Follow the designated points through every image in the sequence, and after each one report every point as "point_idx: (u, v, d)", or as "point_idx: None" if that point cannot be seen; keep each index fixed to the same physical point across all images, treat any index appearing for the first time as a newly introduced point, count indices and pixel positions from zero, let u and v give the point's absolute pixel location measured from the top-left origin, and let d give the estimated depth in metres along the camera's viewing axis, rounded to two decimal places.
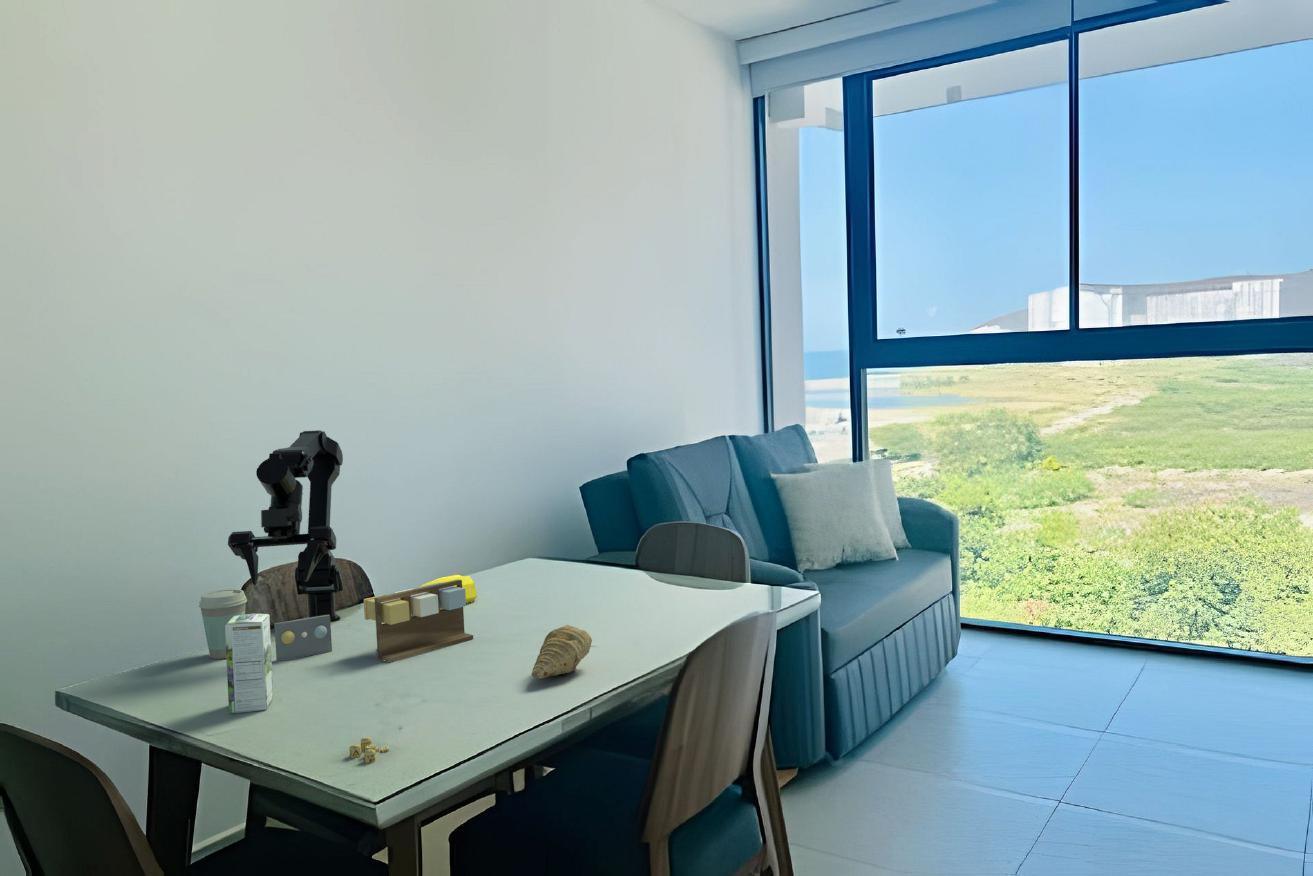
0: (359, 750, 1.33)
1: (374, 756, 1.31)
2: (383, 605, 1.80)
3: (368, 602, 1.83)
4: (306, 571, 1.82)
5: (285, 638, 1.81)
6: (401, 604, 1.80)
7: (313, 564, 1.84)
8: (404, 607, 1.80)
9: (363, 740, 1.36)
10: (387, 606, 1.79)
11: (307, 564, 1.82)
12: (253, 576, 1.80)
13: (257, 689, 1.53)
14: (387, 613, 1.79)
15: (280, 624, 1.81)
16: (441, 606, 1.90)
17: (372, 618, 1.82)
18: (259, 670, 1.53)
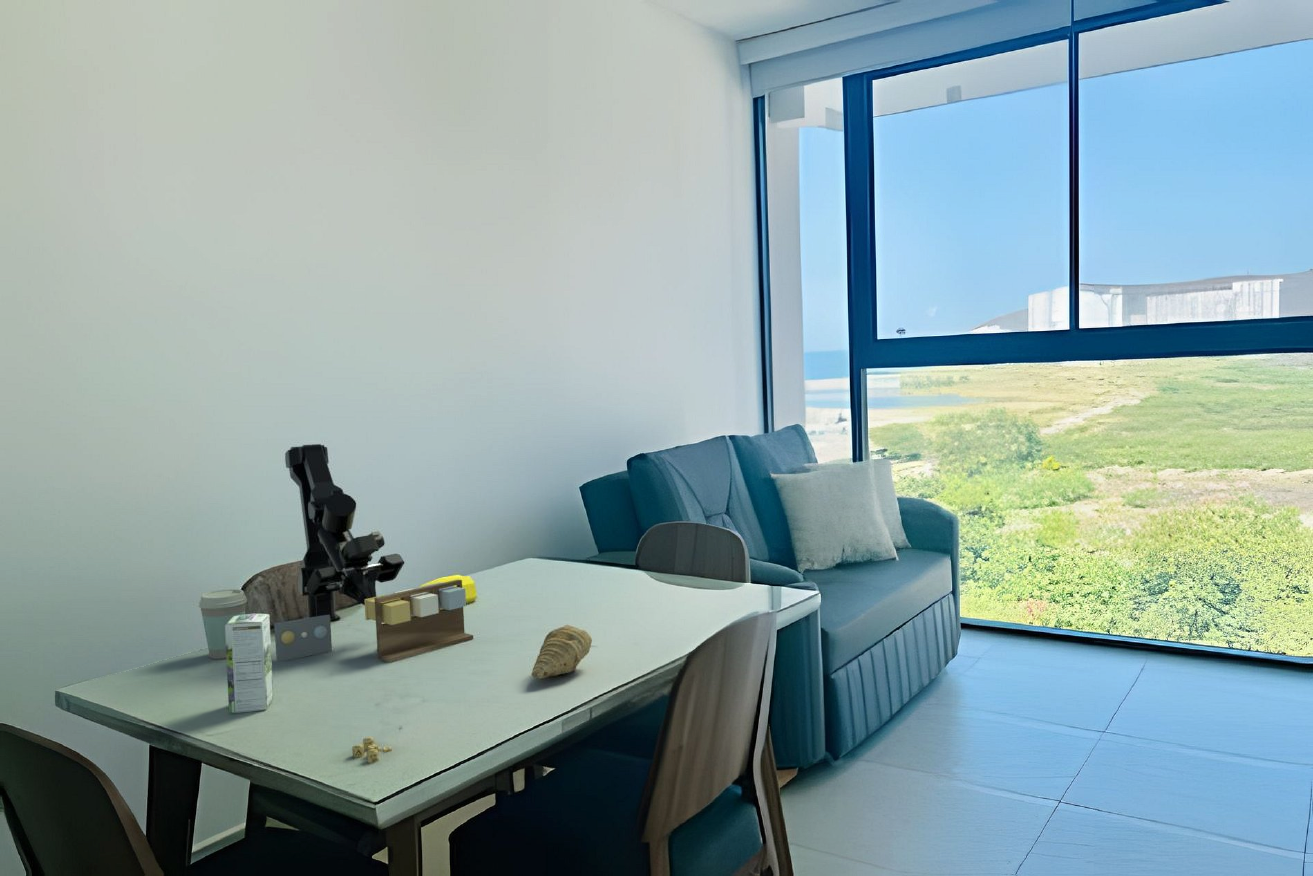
0: (362, 750, 1.33)
1: (377, 756, 1.31)
2: (384, 605, 1.79)
3: (369, 602, 1.83)
4: None
5: (285, 638, 1.81)
6: (402, 604, 1.80)
7: None
8: (405, 607, 1.80)
9: (365, 740, 1.36)
10: (388, 607, 1.79)
11: (373, 592, 1.87)
12: None
13: (257, 689, 1.53)
14: (388, 613, 1.79)
15: (280, 624, 1.81)
16: (441, 606, 1.90)
17: (373, 618, 1.82)
18: (259, 670, 1.53)
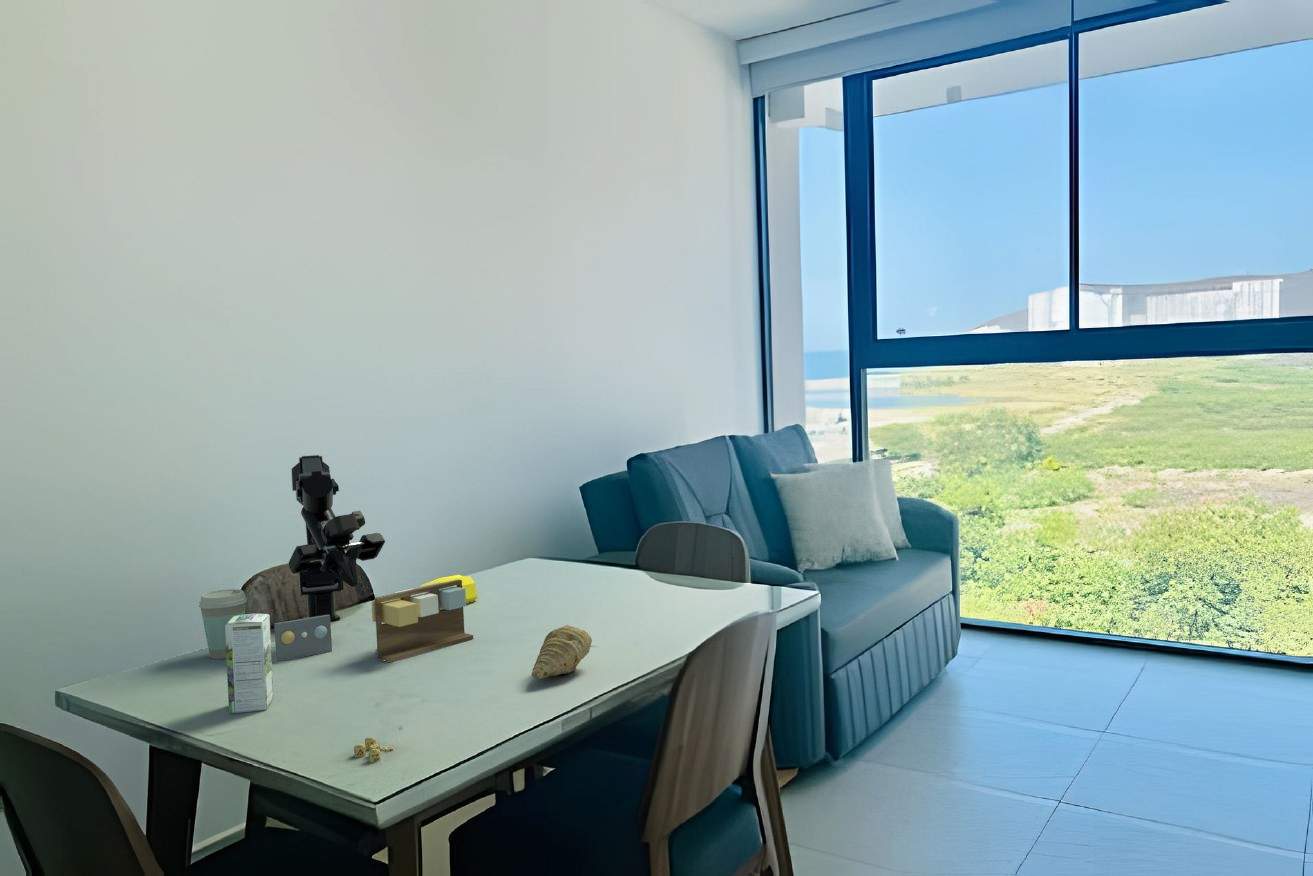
0: (363, 750, 1.33)
1: (379, 755, 1.31)
2: (391, 607, 1.78)
3: None
4: (355, 576, 1.92)
5: (285, 638, 1.81)
6: (409, 606, 1.78)
7: None
8: (412, 609, 1.79)
9: (367, 739, 1.36)
10: (395, 608, 1.77)
11: (353, 570, 1.92)
12: (352, 577, 1.91)
13: (257, 689, 1.53)
14: (396, 615, 1.77)
15: (280, 624, 1.81)
16: (441, 606, 1.90)
17: None
18: (259, 670, 1.53)
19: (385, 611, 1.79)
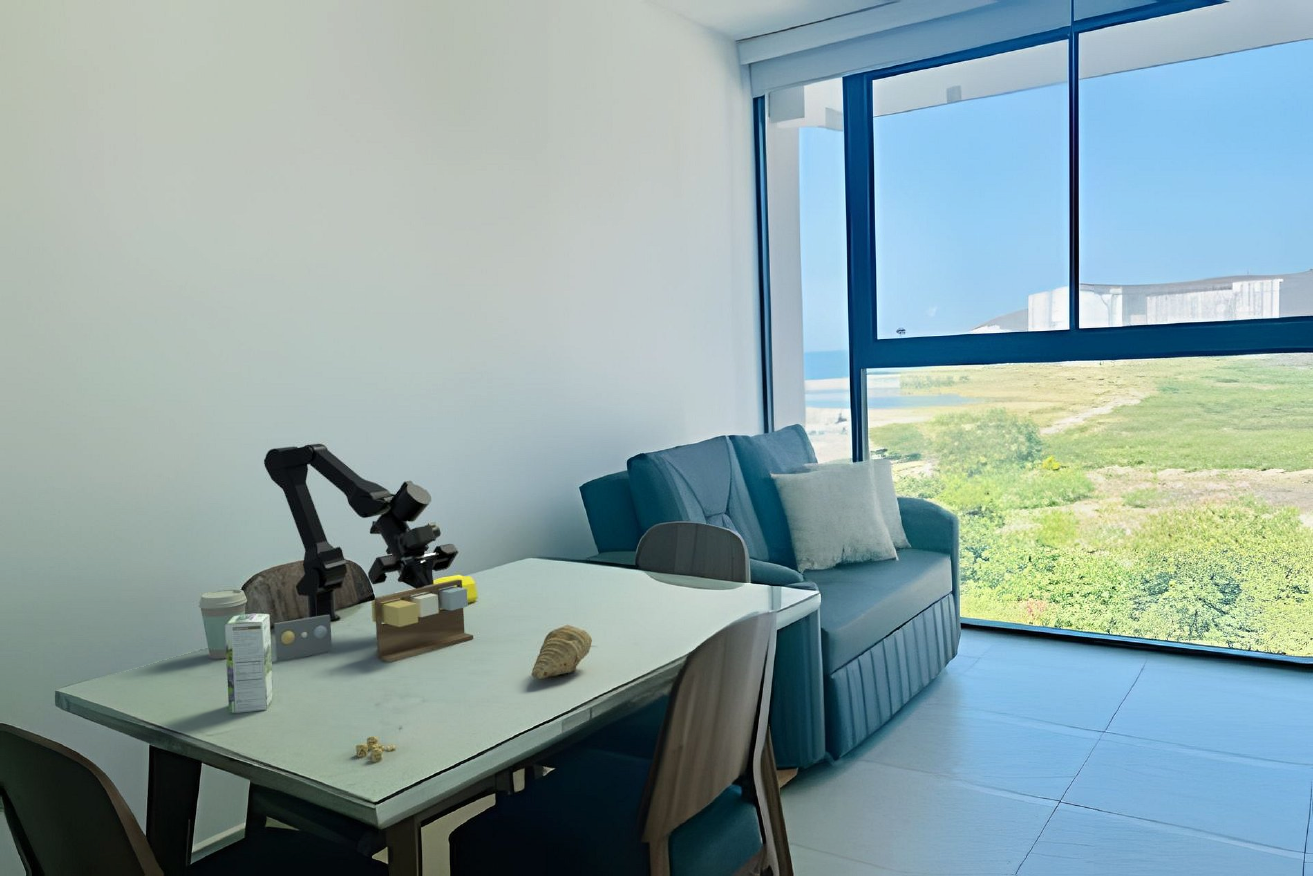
0: (365, 749, 1.33)
1: (381, 755, 1.32)
2: (391, 607, 1.78)
3: None
4: None
5: (285, 638, 1.81)
6: (409, 606, 1.78)
7: None
8: (412, 609, 1.79)
9: (369, 739, 1.36)
10: (395, 608, 1.77)
11: (430, 580, 1.96)
12: None
13: (257, 689, 1.53)
14: (396, 615, 1.77)
15: (280, 624, 1.81)
16: (443, 606, 1.89)
17: None
18: (259, 670, 1.53)
19: (385, 611, 1.79)
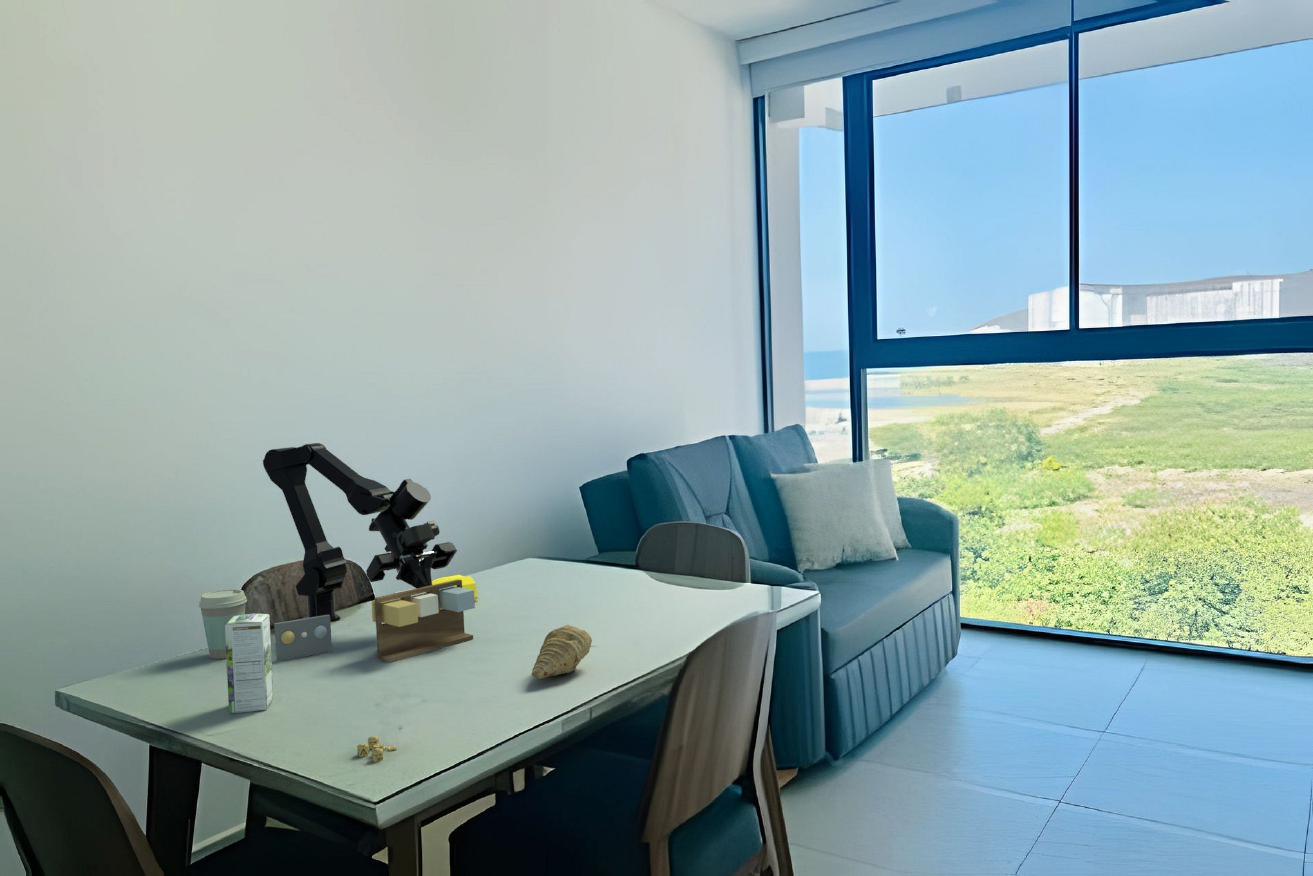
0: (367, 749, 1.33)
1: (382, 755, 1.32)
2: (391, 607, 1.78)
3: None
4: (430, 584, 1.96)
5: (285, 638, 1.81)
6: (409, 606, 1.78)
7: None
8: (412, 609, 1.79)
9: (370, 739, 1.36)
10: (395, 608, 1.77)
11: (428, 579, 1.96)
12: None
13: (257, 689, 1.53)
14: (396, 615, 1.77)
15: (280, 624, 1.81)
16: (450, 608, 1.88)
17: None
18: (259, 670, 1.53)
19: (385, 611, 1.79)
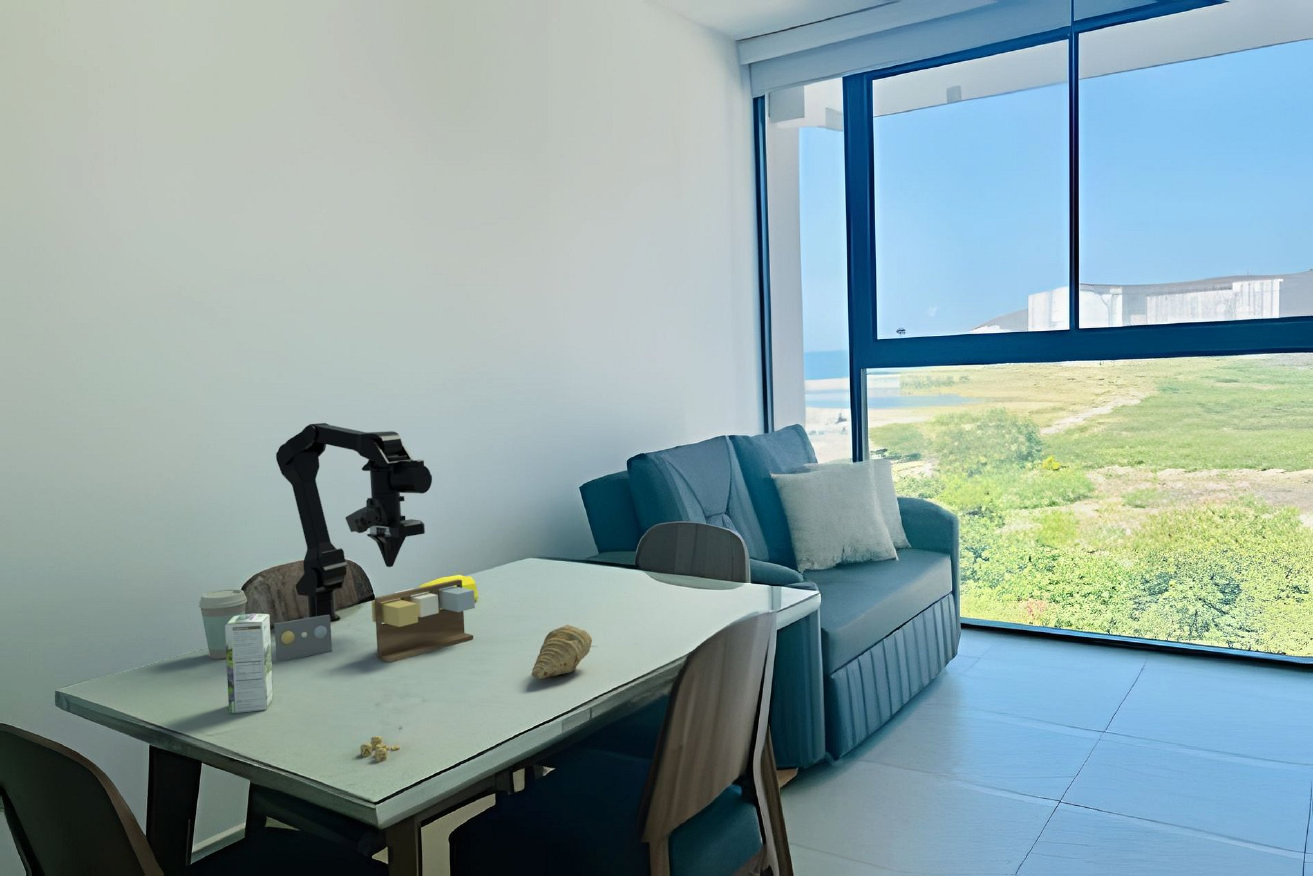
0: (370, 749, 1.34)
1: (385, 755, 1.32)
2: (391, 607, 1.78)
3: None
4: (386, 560, 2.01)
5: (285, 638, 1.81)
6: (409, 606, 1.78)
7: (393, 551, 2.01)
8: (412, 609, 1.79)
9: (373, 739, 1.36)
10: (395, 608, 1.77)
11: (386, 554, 2.01)
12: (385, 560, 2.01)
13: (257, 689, 1.53)
14: (396, 615, 1.77)
15: (280, 624, 1.81)
16: (450, 608, 1.88)
17: None
18: (259, 670, 1.53)
19: (385, 611, 1.79)
